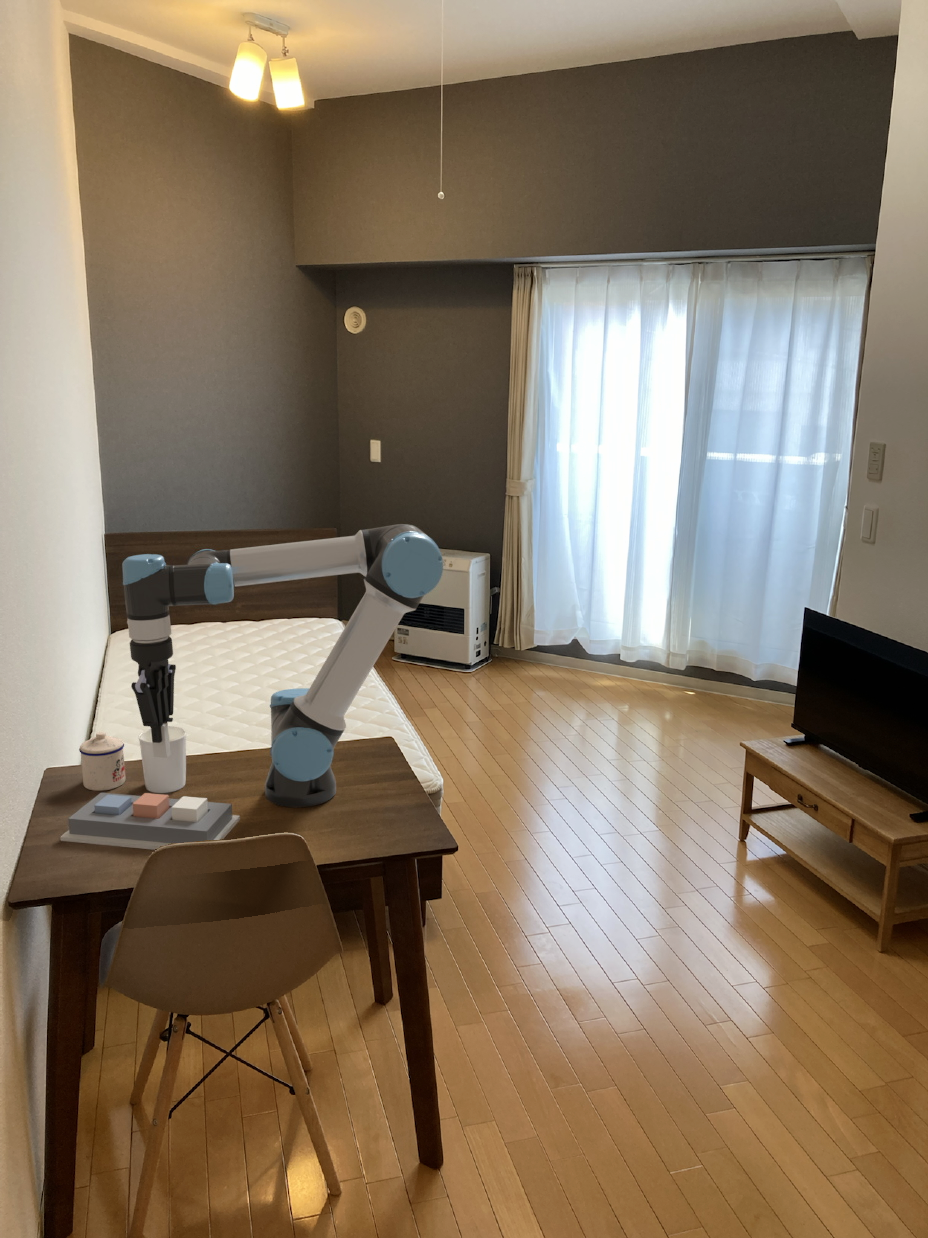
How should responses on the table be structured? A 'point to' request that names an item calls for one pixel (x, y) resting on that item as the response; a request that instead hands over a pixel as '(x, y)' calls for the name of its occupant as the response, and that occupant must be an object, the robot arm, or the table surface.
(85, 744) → the teacup with lid
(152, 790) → the candle holder
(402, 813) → the table surface
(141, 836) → the key console
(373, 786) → the table surface
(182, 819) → the white key
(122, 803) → the blue key
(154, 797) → the terracotta key
